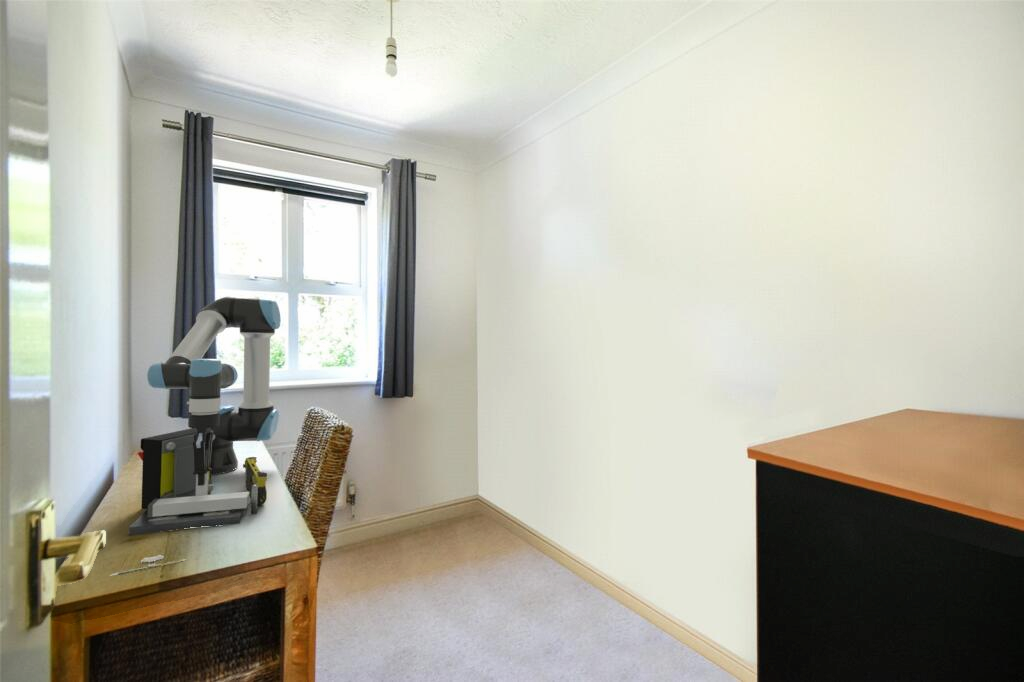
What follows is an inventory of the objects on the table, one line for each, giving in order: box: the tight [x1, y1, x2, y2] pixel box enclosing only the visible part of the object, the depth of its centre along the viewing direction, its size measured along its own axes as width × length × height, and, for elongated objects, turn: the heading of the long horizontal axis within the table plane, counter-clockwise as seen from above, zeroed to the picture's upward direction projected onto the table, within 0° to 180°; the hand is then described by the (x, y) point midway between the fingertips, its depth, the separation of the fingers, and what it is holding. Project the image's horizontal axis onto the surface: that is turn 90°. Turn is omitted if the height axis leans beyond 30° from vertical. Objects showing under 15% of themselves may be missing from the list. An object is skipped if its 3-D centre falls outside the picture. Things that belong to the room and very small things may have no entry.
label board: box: [128, 484, 258, 536], centre depth 128 cm, size 14×27×8 cm, turn 112°
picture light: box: [108, 554, 186, 577], centre depth 102 cm, size 14×4×2 cm, turn 125°
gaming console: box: [242, 456, 269, 508], centre depth 147 cm, size 26×4×10 cm, turn 36°
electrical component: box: [137, 428, 215, 510], centre depth 142 cm, size 18×10×20 cm, turn 168°
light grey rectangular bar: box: [148, 491, 250, 518], centre depth 128 cm, size 22×5×3 cm, turn 112°
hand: (201, 495), depth 134 cm, fingers closed
